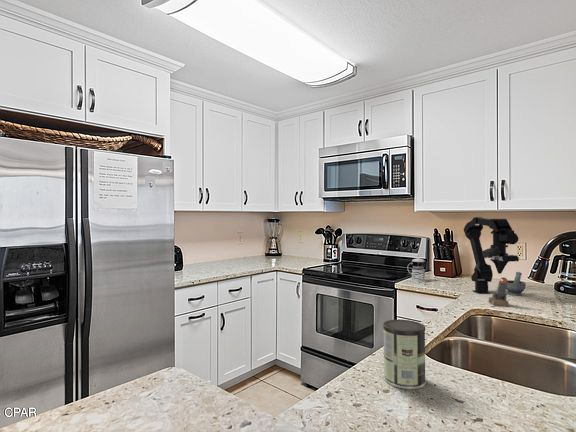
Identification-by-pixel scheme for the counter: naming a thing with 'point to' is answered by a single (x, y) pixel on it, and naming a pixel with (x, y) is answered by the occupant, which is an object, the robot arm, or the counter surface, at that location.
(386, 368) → the coffee can
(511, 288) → the mortar and pestle
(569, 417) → the counter surface
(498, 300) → the stand
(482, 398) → the counter surface
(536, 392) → the counter surface
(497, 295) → the nutcracker lever
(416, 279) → the french press
